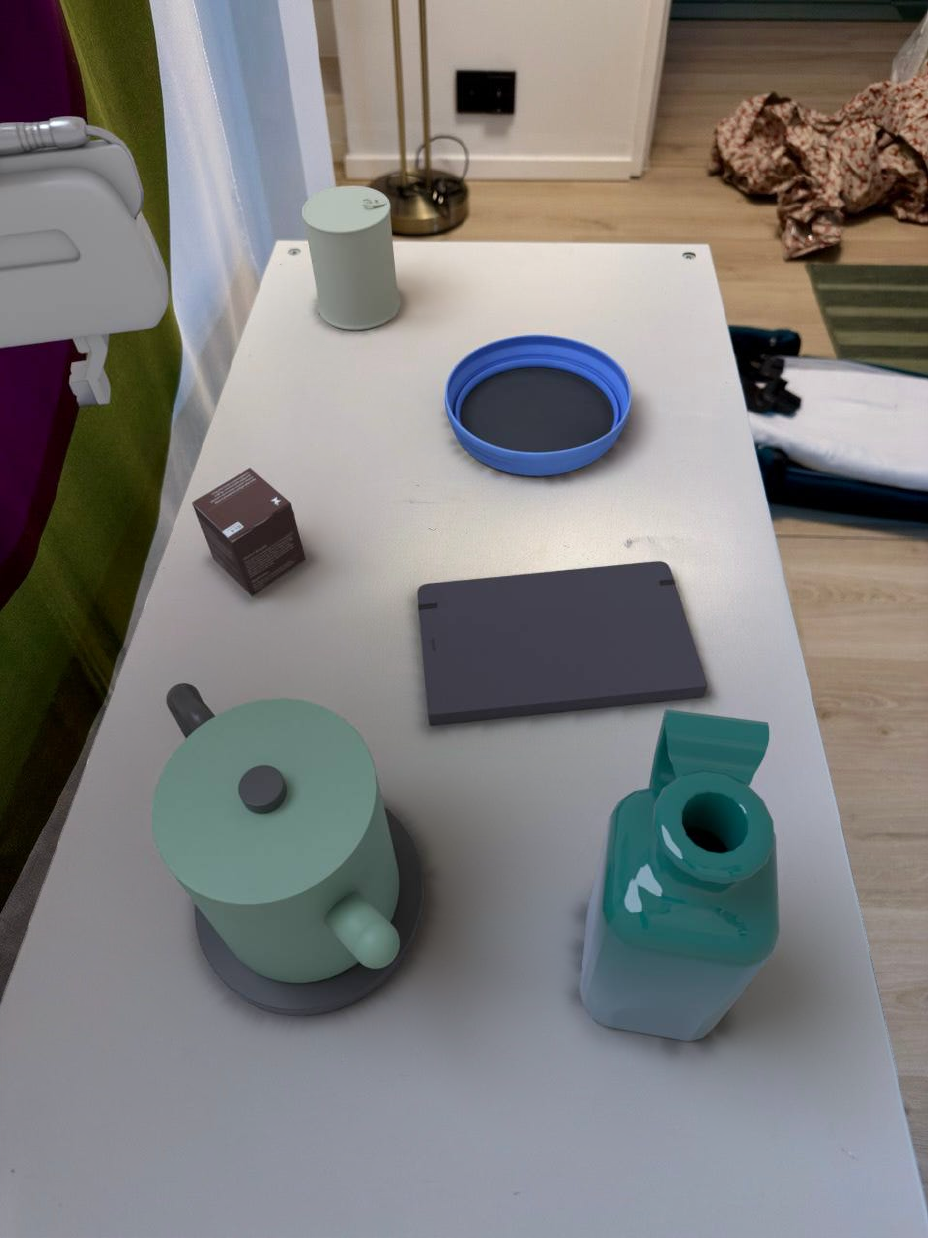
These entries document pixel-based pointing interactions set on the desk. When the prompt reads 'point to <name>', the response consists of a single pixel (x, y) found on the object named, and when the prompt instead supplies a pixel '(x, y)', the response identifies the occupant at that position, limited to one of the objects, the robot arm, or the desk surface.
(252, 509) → the box
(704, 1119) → the desk surface
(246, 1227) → the desk surface
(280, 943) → the kettle
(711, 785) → the pitcher
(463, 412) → the bowl
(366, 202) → the can
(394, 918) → the kettle base
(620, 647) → the notebook
